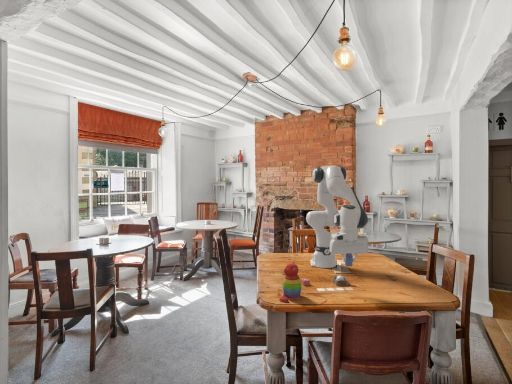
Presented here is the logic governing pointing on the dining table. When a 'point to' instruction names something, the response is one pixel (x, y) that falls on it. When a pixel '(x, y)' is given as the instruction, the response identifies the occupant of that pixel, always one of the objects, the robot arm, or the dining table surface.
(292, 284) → the stacking bear
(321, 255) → the robot arm
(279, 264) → the dining table surface
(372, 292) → the dining table surface
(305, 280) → the die
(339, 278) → the dome
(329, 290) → the track
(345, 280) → the popper box
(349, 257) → the pawn
